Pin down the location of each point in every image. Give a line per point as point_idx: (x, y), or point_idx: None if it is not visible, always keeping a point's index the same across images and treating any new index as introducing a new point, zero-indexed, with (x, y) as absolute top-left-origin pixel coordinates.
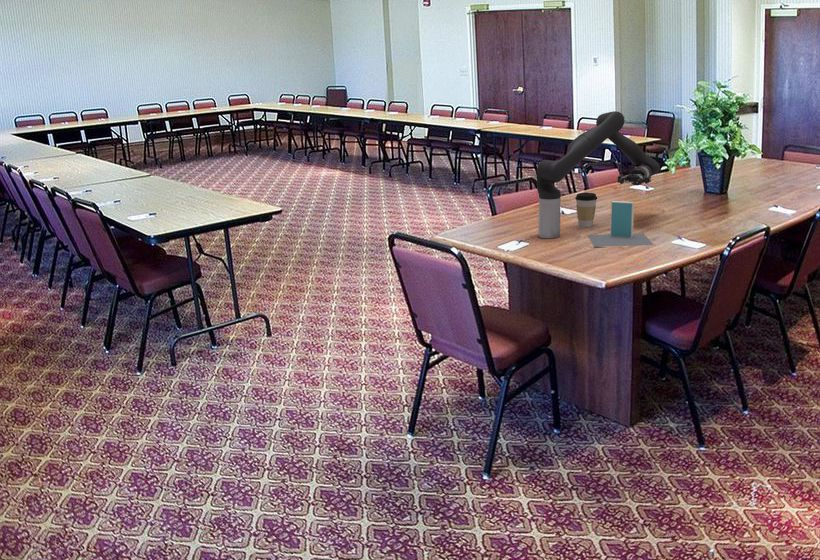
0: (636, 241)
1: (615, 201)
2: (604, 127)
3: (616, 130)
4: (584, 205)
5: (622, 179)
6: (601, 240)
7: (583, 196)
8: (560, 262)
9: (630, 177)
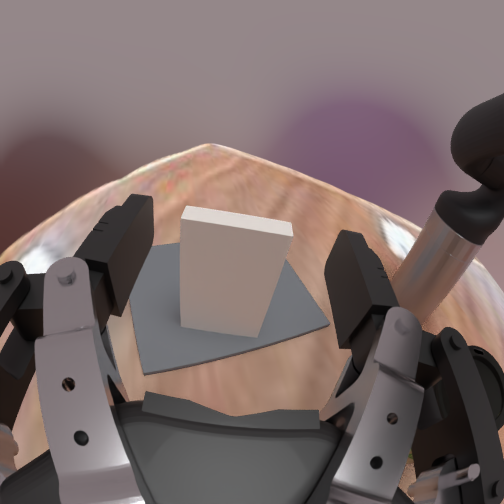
0: (167, 274)
1: (274, 225)
2: None
3: None
4: None
5: (346, 244)
6: None
7: (469, 346)
8: (286, 179)
9: (306, 420)
